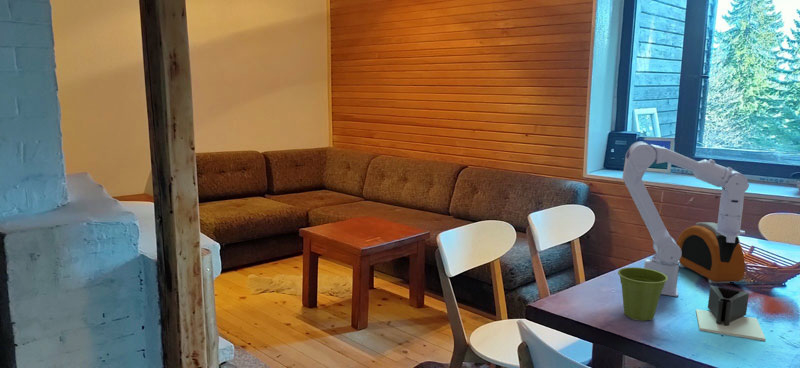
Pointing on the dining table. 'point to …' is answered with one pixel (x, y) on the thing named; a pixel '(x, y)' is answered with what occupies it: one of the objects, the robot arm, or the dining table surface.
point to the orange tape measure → (709, 254)
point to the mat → (730, 326)
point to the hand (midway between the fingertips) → (724, 261)
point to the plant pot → (641, 291)
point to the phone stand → (727, 304)
